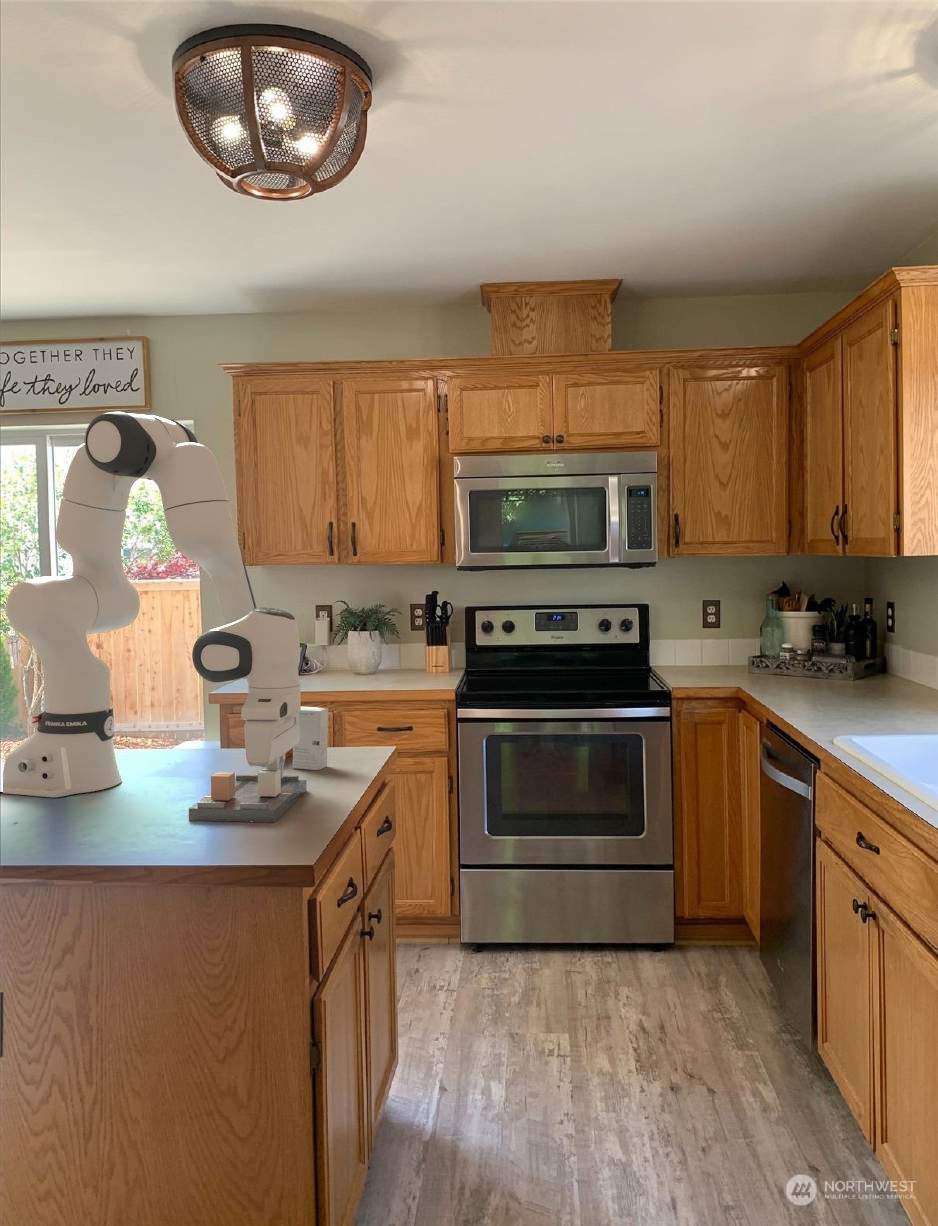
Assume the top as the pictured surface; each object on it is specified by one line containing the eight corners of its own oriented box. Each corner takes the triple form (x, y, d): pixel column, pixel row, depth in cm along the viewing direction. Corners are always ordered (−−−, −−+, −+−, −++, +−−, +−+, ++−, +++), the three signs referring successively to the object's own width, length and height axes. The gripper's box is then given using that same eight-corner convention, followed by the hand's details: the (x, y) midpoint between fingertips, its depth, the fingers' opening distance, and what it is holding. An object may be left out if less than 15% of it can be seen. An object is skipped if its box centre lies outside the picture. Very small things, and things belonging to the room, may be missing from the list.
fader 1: (211, 799, 148) (210, 775, 148) (217, 795, 151) (217, 771, 151) (228, 800, 148) (228, 775, 148) (234, 795, 151) (234, 771, 151)
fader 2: (258, 796, 151) (257, 772, 151) (263, 791, 154) (263, 768, 154) (275, 796, 151) (275, 772, 150) (280, 791, 154) (280, 768, 153)
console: (188, 820, 144) (188, 803, 144) (231, 789, 164) (231, 773, 164) (274, 822, 143) (273, 805, 143) (306, 790, 163) (306, 775, 163)
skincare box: (291, 768, 180) (291, 709, 180) (301, 764, 185) (301, 705, 184) (320, 770, 179) (319, 710, 178) (329, 765, 183) (328, 707, 182)
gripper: (274, 692, 165) (275, 766, 166) (237, 711, 145) (238, 795, 146) (308, 693, 165) (308, 767, 166) (275, 711, 145) (276, 796, 145)
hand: (275, 780), depth 156 cm, fingers closed
